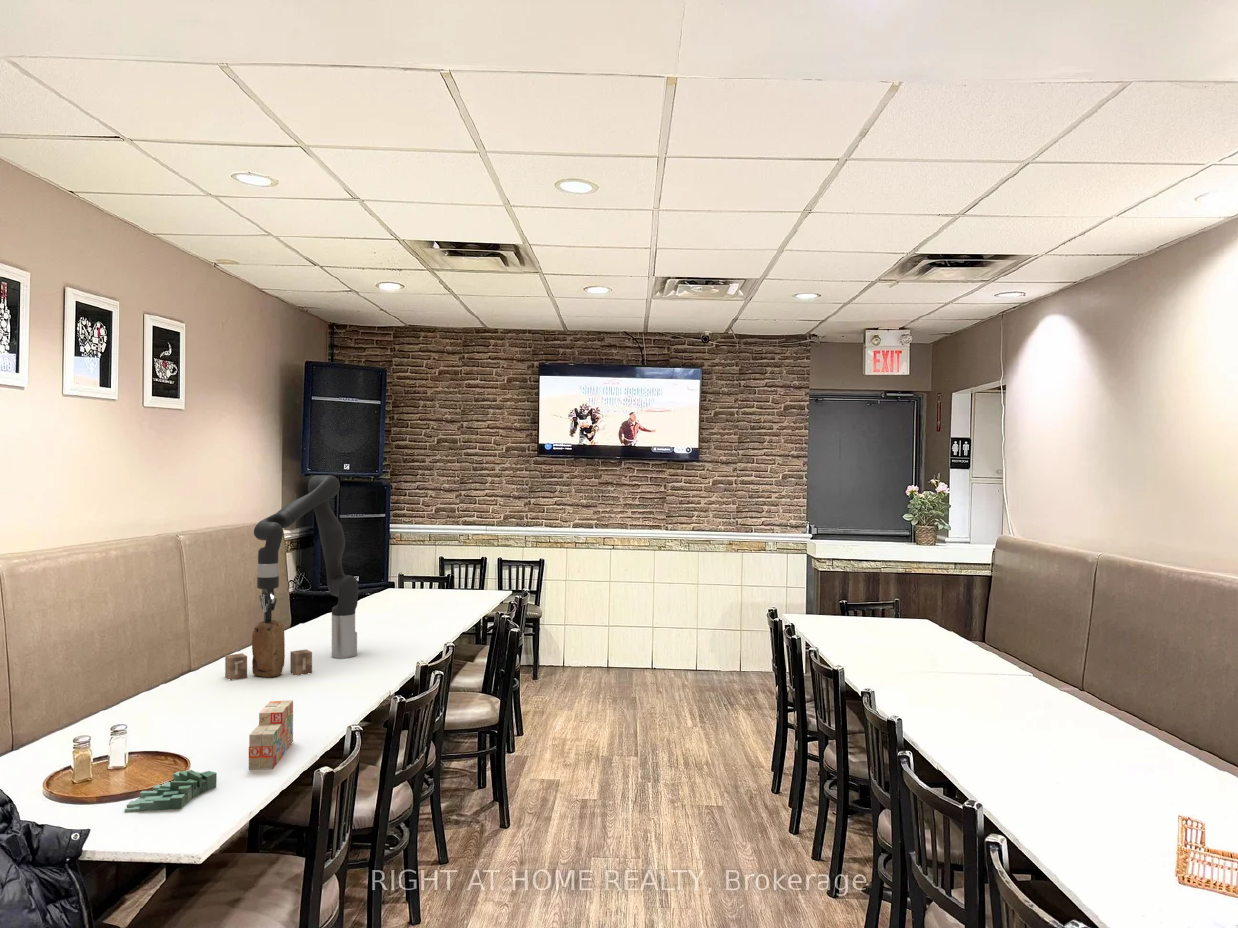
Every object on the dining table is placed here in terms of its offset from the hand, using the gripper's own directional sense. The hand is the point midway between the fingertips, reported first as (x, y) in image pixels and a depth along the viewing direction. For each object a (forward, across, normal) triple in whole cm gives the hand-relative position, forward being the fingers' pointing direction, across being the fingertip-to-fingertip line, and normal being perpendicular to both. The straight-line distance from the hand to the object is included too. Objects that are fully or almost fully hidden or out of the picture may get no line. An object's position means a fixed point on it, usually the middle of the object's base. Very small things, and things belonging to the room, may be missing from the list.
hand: (267, 621), depth 315 cm
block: (+20, 0, 0) cm, 20 cm away
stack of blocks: (+20, -89, +26) cm, 95 cm away
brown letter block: (+20, +4, +10) cm, 23 cm away
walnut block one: (+20, -4, -11) cm, 23 cm away
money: (+21, -102, +52) cm, 116 cm away
